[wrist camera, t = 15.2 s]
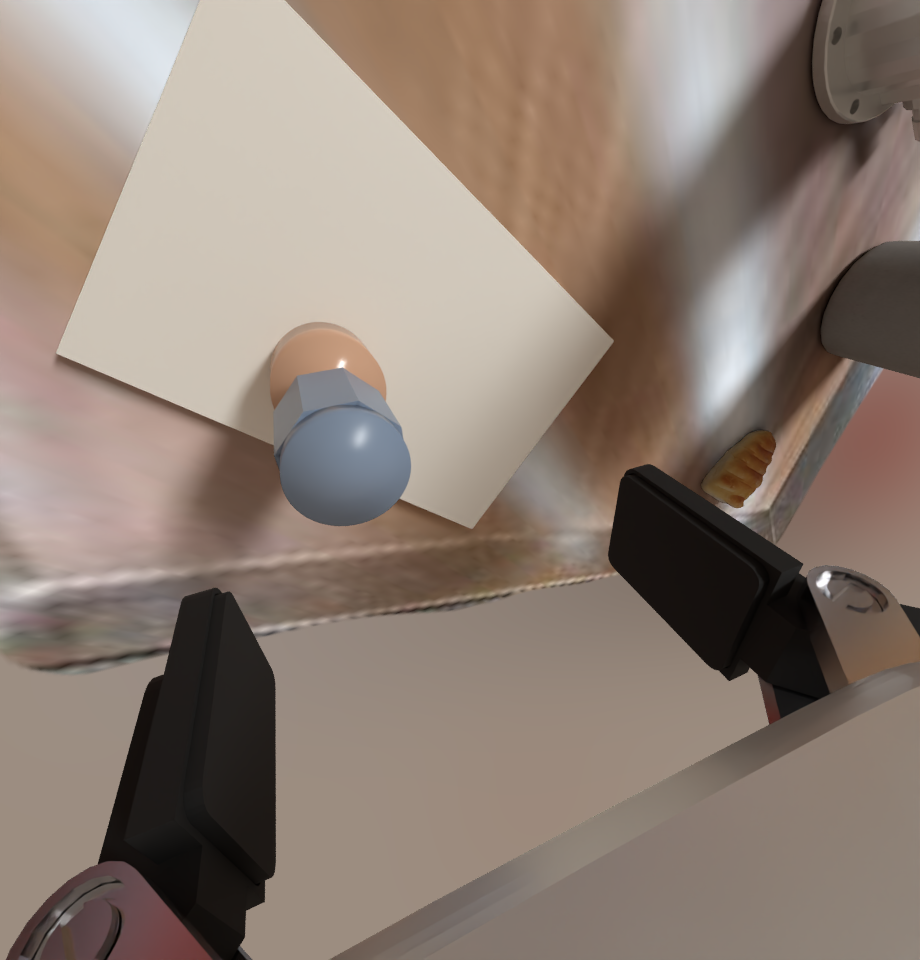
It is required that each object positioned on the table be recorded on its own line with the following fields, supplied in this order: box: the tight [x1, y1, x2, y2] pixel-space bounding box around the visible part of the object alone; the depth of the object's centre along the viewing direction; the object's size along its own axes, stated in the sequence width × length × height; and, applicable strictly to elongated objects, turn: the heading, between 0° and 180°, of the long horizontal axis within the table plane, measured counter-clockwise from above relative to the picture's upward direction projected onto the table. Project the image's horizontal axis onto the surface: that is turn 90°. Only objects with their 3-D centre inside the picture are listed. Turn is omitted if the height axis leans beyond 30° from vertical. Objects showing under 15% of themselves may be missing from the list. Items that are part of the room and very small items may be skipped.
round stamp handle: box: [270, 322, 386, 410], centre depth 23 cm, size 6×6×11 cm
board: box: [56, 0, 614, 529], centre depth 29 cm, size 30×20×1 cm, turn 52°
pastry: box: [701, 430, 776, 508], centre depth 49 cm, size 9×7×4 cm
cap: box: [273, 367, 411, 526], centre depth 21 cm, size 6×6×6 cm
